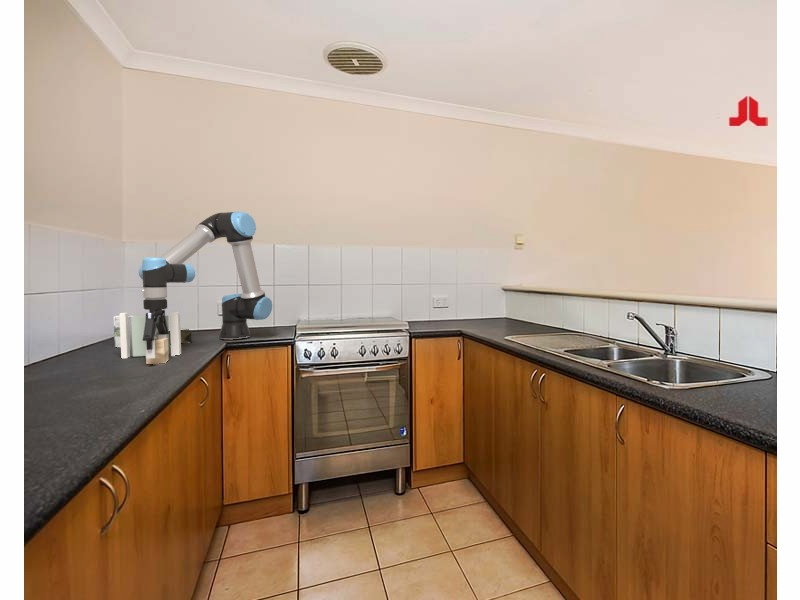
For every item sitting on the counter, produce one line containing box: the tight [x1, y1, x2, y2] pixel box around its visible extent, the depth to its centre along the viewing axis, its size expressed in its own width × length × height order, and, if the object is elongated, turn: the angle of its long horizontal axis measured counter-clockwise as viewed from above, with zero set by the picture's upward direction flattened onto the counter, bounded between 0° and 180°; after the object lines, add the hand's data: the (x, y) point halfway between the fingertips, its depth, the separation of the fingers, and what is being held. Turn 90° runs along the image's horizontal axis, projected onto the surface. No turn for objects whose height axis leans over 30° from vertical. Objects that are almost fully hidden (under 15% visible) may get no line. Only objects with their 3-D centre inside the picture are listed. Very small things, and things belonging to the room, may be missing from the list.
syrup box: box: [112, 314, 135, 349], centre depth 172 cm, size 6×6×14 cm
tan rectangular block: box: [145, 338, 170, 365], centre depth 143 cm, size 6×5×9 cm
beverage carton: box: [169, 328, 193, 344], centre depth 181 cm, size 8×19×7 cm, turn 127°
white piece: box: [118, 311, 182, 359], centre depth 154 cm, size 20×3×18 cm, turn 107°
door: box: [129, 315, 171, 357], centre depth 153 cm, size 14×4×16 cm, turn 107°
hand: (156, 354), depth 143 cm, fingers open, 13 cm apart
